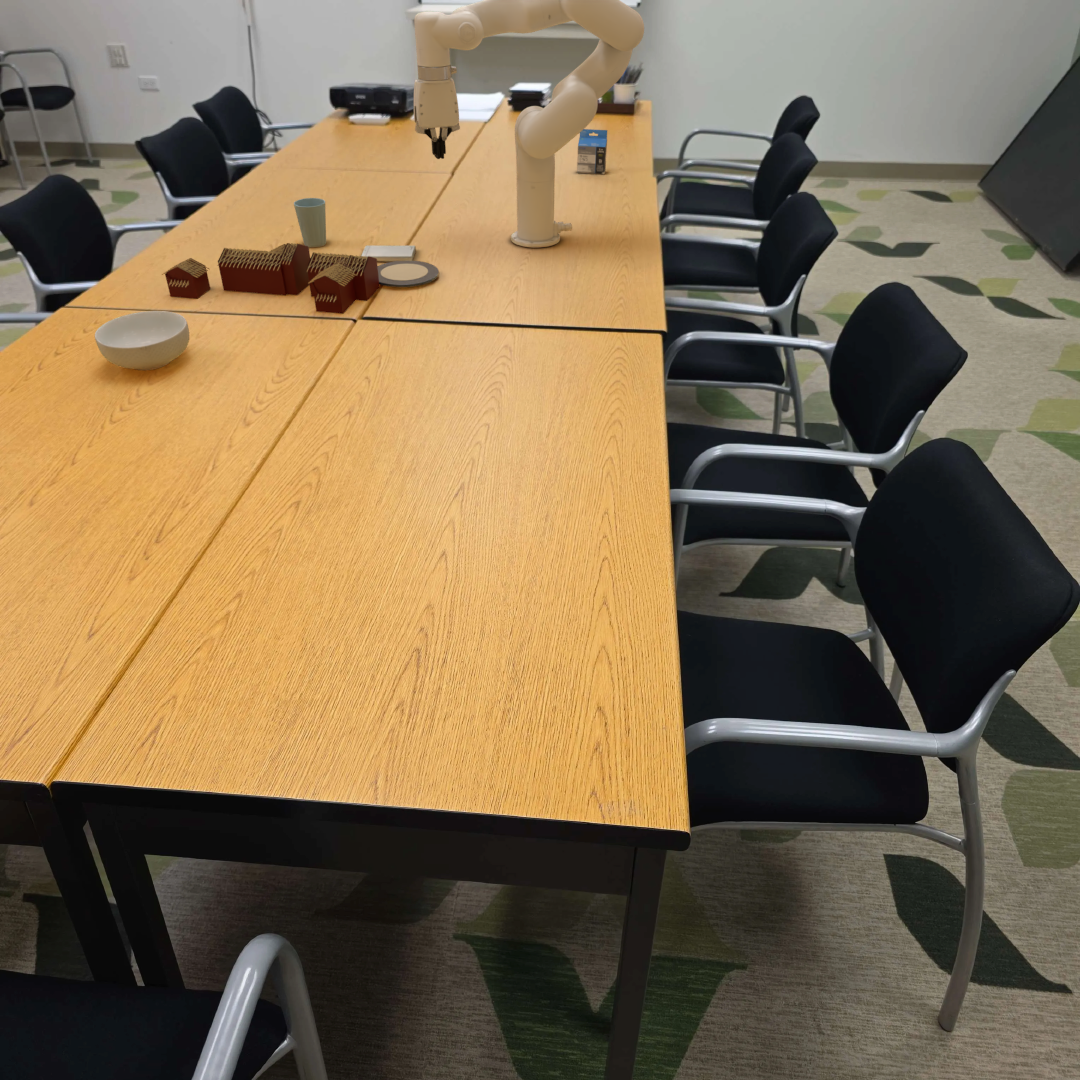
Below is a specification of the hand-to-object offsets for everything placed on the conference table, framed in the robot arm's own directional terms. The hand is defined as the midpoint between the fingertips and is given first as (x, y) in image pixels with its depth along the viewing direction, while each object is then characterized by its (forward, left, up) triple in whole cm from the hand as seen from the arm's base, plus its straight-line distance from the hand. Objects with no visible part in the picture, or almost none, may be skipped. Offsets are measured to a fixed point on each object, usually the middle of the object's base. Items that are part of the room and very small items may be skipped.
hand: (439, 157), depth 221 cm
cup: (+31, -11, -21) cm, 39 cm away
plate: (+15, +20, -21) cm, 33 cm away
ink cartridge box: (-62, -51, -21) cm, 83 cm away
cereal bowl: (+72, +48, -21) cm, 89 cm away
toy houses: (+45, +19, -21) cm, 53 cm away
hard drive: (+15, +4, -21) cm, 27 cm away
